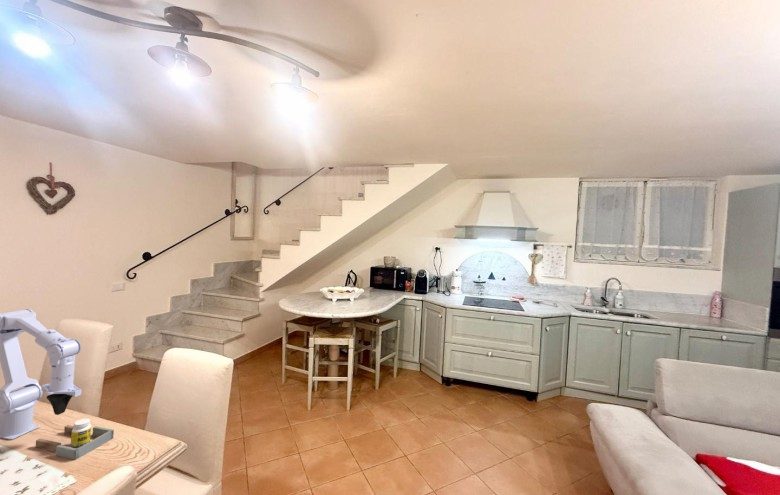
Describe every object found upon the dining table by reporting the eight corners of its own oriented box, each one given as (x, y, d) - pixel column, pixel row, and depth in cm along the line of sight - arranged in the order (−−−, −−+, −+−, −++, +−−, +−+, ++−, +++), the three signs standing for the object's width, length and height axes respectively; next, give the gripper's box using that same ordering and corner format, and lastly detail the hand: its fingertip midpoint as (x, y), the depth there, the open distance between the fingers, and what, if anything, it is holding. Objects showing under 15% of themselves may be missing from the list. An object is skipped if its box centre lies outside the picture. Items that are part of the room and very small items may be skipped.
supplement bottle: (76, 451, 103) (78, 426, 103) (66, 448, 104) (68, 423, 104) (93, 442, 107) (95, 419, 107) (83, 439, 109) (85, 416, 109)
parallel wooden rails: (35, 447, 103) (36, 440, 103) (67, 431, 112) (67, 425, 112) (57, 451, 102) (57, 444, 102) (87, 435, 111) (88, 429, 111)
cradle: (55, 455, 100) (56, 446, 100) (94, 434, 112) (95, 426, 112) (75, 459, 99) (76, 450, 99) (113, 437, 111) (113, 429, 111)
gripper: (31, 376, 104) (28, 415, 104) (65, 383, 102) (62, 423, 102) (56, 368, 111) (53, 405, 111) (89, 374, 109) (86, 411, 109)
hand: (59, 413), depth 107 cm, fingers closed
